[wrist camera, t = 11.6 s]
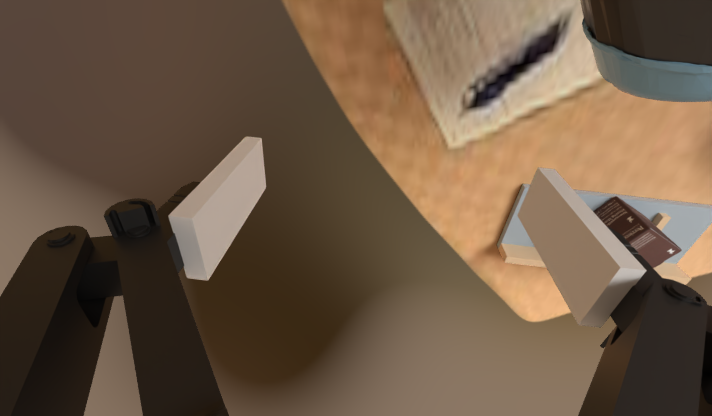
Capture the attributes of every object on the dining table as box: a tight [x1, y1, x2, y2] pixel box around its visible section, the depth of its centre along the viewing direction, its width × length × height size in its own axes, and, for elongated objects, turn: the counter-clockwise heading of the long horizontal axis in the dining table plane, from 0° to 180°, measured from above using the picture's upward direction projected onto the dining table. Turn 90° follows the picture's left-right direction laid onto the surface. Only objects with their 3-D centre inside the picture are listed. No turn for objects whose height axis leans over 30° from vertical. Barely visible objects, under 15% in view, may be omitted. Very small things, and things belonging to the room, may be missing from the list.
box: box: [594, 196, 682, 268], centre depth 43 cm, size 6×6×7 cm
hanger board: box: [497, 184, 712, 284], centre depth 46 cm, size 11×26×5 cm, turn 85°
